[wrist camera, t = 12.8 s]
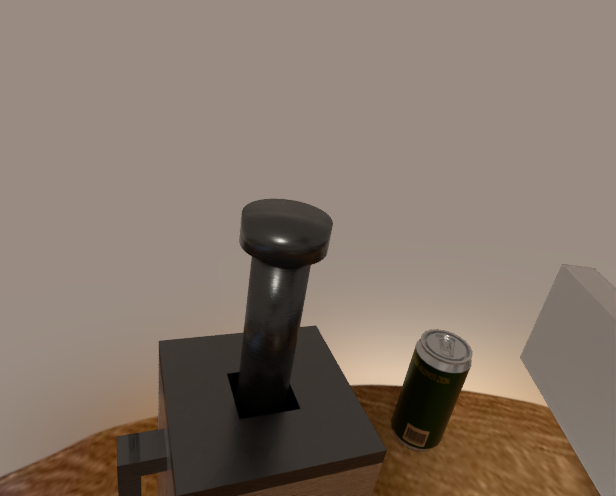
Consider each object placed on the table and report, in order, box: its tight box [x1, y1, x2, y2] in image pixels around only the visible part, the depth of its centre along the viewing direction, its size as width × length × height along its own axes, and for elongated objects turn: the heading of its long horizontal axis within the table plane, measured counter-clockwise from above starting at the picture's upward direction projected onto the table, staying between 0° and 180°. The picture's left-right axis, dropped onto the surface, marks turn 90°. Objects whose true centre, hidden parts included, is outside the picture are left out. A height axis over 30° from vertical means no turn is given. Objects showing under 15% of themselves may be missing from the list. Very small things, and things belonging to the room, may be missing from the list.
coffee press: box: [117, 326, 387, 496], centre depth 31 cm, size 14×11×18 cm
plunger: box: [236, 199, 333, 419], centre depth 29 cm, size 8×8×28 cm
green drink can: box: [391, 329, 472, 452], centre depth 47 cm, size 5×5×12 cm
